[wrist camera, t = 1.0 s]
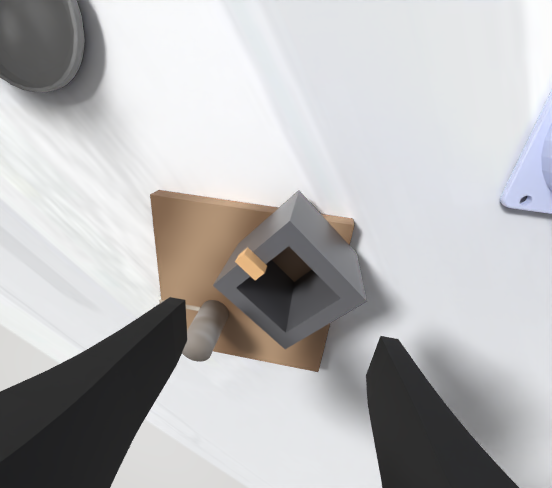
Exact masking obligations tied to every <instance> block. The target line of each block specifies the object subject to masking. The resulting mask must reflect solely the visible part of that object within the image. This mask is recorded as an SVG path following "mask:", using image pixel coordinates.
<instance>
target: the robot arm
mask: <svg viewBox="0 0 552 488" xmlns="http://www.w3.org/2000/svg"><path fill="white" fill-rule="evenodd" d="M524 196H527V199H526V200H525V201H524V202H522V203H520V200H521V198H522V197H524ZM500 201H501V203H502V204H503V205H504V206H506V207H508V208H512V209H520V210H527V211H534V212H541V213H549V214H552V90H551V92H550V95H549V97H548V99H547V101H546V103H545V105H544V107H543V109H542V111H541V113H540V115H539V118H538V120H537V122H536V124H535V126H534V128H533V130H532V132H531V134H530V136H529V138H528V141H527V143H526V145H525V147H524V149H523V151H522V153H521V155H520V157H519V159H518V161H517V164H516V166H515V168H514V170H513V172H512V174H511V176H510V178H509V180H508V182H507V184H506V187H505V189H504V191H503V193H502V195H501V198H500ZM186 342H187V321H186V302H185V300H183V299H178V298H173V297H169V298H168V299H166V300H165V301H163V302H162V303H160V304H159V305H157V306H156V307H154V308H153V309H151V310H150V311H148V312H147V313H145V314H144V315H142V316H141V317H139V318H138V319H136V320H135V321H133V322H131V323H130V324H128V325H127V326H125V327H124V328H122V329H121V330H119V331H117V332H116V333H114V334H112V335H111V336H109V337H107V338H106V339H104V340H102V341H101V342H99V343H97V344H96V345H94V346H92V347H91V348H89V349H87V350H85V351H84V352H82V353H80V354H78V355H76V356H74V357H73V358H71V359H69V360H67V361H65V362H63V363H61V364H59V365H57V366H55V367H53V368H51V369H49V370H47V371H45V372H43V373H41V374H39V375H36V376H34V377H32V378H30V379H27V380H25V381H23V382H21V383H19V384H16V385H14V386H12V387H10V388H7V389H5V390H3V391H1V392H0V488H110V487H111V484H112V482H113V480H114V478H115V476H116V474H117V472H118V469H119V467H120V465H121V463H122V461H123V459H124V457H125V455H126V453H127V451H128V449H129V447H130V445H131V443H132V441H133V439H134V437H135V435H136V433H137V431H138V430H139V428H140V426H141V424H142V422H143V421H144V419H145V417H146V416H147V414H148V412H149V411H150V409H151V407H152V406H153V404H154V402H155V401H156V399H157V397H158V396H159V394H160V392H161V391H162V389H163V387H164V386H165V384H166V382H167V380H168V379H169V377H170V375H171V374H172V372H173V370H174V368H175V367H176V365H177V363H178V361H179V358H180V356H181V354H182V352H183V349H184V347H185V345H186ZM366 382H367V399H368V408H369V414H370V420H371V426H372V431H373V437H374V442H375V448H376V453H377V459H378V464H379V470H380V475H381V481H382V488H519V487H518V486H517V485H516V484H515V483H514V482H513V481H512V480H511V479H510V478H509V477H508V476H507V475H506V474H505V472H504V471H503V470H502V469H501V468H500V467H499V466H498V465H497V464H496V463H495V462H494V460H493V459H492V458H491V457H490V456H489V455H488V454H487V453H486V452H485V451H484V450H483V448H482V447H481V446H480V445H479V444H478V443H477V442H476V441H475V439H474V438H473V437H472V436H471V435H470V434H469V432H468V431H467V430H466V429H465V428H464V426H463V425H462V424H461V423H460V421H459V420H458V419H457V418H456V417H455V415H454V414H453V413H452V412H451V411H450V409H449V408H448V407H447V405H446V404H445V403H444V402H443V400H442V399H441V398H440V396H439V395H438V394H437V392H436V391H435V390H434V388H433V387H432V386H431V384H430V383H429V382H428V380H427V379H426V378H425V376H424V375H423V373H422V372H421V371H420V369H419V368H418V366H417V365H416V364H415V362H414V361H413V359H412V358H411V356H410V355H409V354H408V352H407V351H406V349H405V348H404V347H403V345H402V344H401V342H400V341H399V340H398V339H394V338H389V337H384V336H380V339H379V342H378V344H377V347H376V350H375V352H374V355H373V358H372V361H371V363H370V366H369V369H368V372H367V374H366Z"/></svg>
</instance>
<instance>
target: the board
mask: <svg viewBox="0 0 552 488" xmlns="http://www.w3.org/2000/svg"><path fill="white" fill-rule="evenodd" d="M150 198H151V207H152V217H153V226H154V235H155V245H156V254H157V263H158V273H159V282H160V291H161V300H159V301H160V303H162V302H163V301H165V300H166V299H168V298H169V297H173V298H178V299H183V300H185V302H186V321H187V342H186V345H185V347H184V349H183V352H182V353H183V355H185V356H186V357H187V358H189V359H191V360H194V361H205V360H207V359H209V357H210V356H211V354H212V351H214V352H220V353H225V354H230V355H235V356H240V357H245V358H250V359H255V360H260V361H265V362H270V363H275V364H280V365H285V366H290V367H295V368H300V369H305V370H310V371H315V372H318V371H319V367H320V363H321V359H322V355H323V351H324V347H325V343H326V339H327V335H328V331H329V326H330V323H329V324H328V325H326V326H324V327H322V328H321V329H319V330H317V331H316V332H314V333H312V334H311V335H309V336H307V337H306V338H304V339H302V340H300V341H299V342H297V343H295V344H294V345H292V346H290V347H289V348H287V349H284V348H283V347H282V346H280V345H279V344H278V343H277V342H276V341H275V340H274V339H273V338H271V337H270V336H269V335H268V334H267V333H266V332H265V331H264V330H262V329H261V328H260V327H259V326H258V325H257V324H256V323H255V322H253V321H252V320H251V319H250V318H249V317H248V316H247V315H246V314H244V313H243V312H242V311H241V310H240V309H239V308H238V307H237V306H235V305H234V304H233V303H232V302H231V301H230V300H229V299H227V298H226V297H225V296H224V295H223V294H222V293H221V292H220V291H218V290H217V289H216V288H215V287H214V286H213V284H214V283H215V281H216V279H217V278H218V276H219V274H220V273H221V271H222V270H223V268H224V266H225V265H226V263H227V261H228V260H229V258H230V256H231V255H232V253H233V252H234V250H235V248H236V247H237V245H238V244H239V243H240V242H241V241H242V240H243V239H244V238H245V237H246V236H248V235H249V234H250V233H251V232H252V231H253V230H254V229H256V228H257V227H258V226H259V225H260V224H261V223H262V222H263V221H265V220H266V219H267V218H268V217H269V216H270V215H271V214H273V213H274V212H275V211H276V210H277V209H278V208H277V207H270V206H264V205H257V204H250V203H243V202H237V201H230V200H223V199H216V198H209V197H203V196H196V195H189V194H182V193H176V192H169V191H162V190H158V191H156V192H154V193H152V194H150ZM321 215H322V216H323V217H324V218H325V219H326V220H327V221H328V222H329V223H330V225H331V226H332V227H333V228H334V229H335V230H336V231H337V232H338V233H339V234H340V235H341V236H342V238H343V239H344V240H345V241H346V242H347V243H348V244H349V245H350V241H351V237H352V233H353V229H354V222H353V219H352V218H345V217H338V216H331V215H325V214H321ZM272 261H273V262H274V263H275V264H276V265H277V266H279V267H280V268H281V269H282V270H283V271H284V272H285V273H286V274H287V275H288V276H289V277H290V278H291V279H292V280H293V281H294V282H295V281H296V280H298V279H299V278H301V277H302V276H303V275H305V274H306V273H308V272H309V271H311V270H312V269H311V268H310V267H309V266H308V265H307V264H306V263H305V262H304V261H303V260H302V259H301V258H300V257H299V256H298V255H297V254H296V253H295V252H294V251H293V250H292V249H291V248H290V247H289V246H288V247H287V248H286V249H284V250H283V251H282V252H281V253H279V254H278V255H277V256H276V257H274V258H273V259H272Z"/></svg>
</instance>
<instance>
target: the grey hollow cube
mask: <svg viewBox="0 0 552 488" xmlns="http://www.w3.org/2000/svg"><path fill="white" fill-rule="evenodd" d="M288 246H289V247H290V248H291V249H292V250H293V251H294V252H295V253H296V254H297V255H298V256H299V257H300V258H301V259H302V260H303V261H304V262H305V263H306V264H307V265H308V266H309V267H310V268H311V269H312V270H311V271H309V272H308V273H306V274H305V275H303V276H302V277H301V278H299V279H298V280H296V281H295V282H294V281H293V280H292V279H291V278H290V277H289V276H288V275H287V274H286V273H285V272H284V271H283V270H282V269H281V268H280V267H279V266H277V265H276V264H275V263H274V262H273V261H272V259H273V258H274V257H276V256H277V255H278V254H279V253H281V252H282V251H283V250H284V249H286V248H287V247H288ZM213 286H214V287H215V288H216V289H217V290H218V291H220V292H221V293H222V294H223V295H224V296H225V297H226V298H227V299H229V300H230V301H231V302H232V303H233V304H234V305H235V306H237V307H238V308H239V309H240V310H241V311H242V312H243V313H244V314H246V315H247V316H248V317H249V318H250V319H251V320H252V321H253V322H255V323H256V324H257V325H258V326H259V327H260V328H261V329H262V330H264V331H265V332H266V333H267V334H268V335H269V336H270V337H271V338H273V339H274V340H275V341H276V342H277V343H278V344H279V345H280V346H282V347H283V348H284V349H287V348H289V347H290V346H292V345H294V344H295V343H297V342H299V341H300V340H302V339H304V338H306V337H307V336H309V335H311V334H312V333H314V332H316V331H317V330H319V329H321V328H322V327H324V326H326V325H328V324H329V323H331V322H333V321H334V320H336V319H338V318H339V317H341V316H343V315H345V314H346V313H348V312H350V311H351V310H353V309H355V308H356V307H358V306H360V305H362V304H363V303H365V302H367V299H366V294H365V289H364V284H363V280H362V275H361V270H360V266H359V261H358V256H357V253H356V252H355V251H354V250H353V248H352V247H351V246H350V245H349V244H348V243H347V242H346V241H345V240H344V239H343V238H342V236H341V235H340V234H339V233H338V232H337V231H336V230H335V229H334V228H333V227H332V226H331V225H330V223H329V222H328V221H327V220H326V219H325V218H324V217H323V216H322V215H321V214H320V213H319V211H318V210H317V209H316V208H315V207H314V206H313V205H312V204H311V203H310V202H309V201H308V200H307V198H306V197H305V196H304V195H303V194H302V193H301V192H300V191H297V192H296V193H295V194H294V195H293V196H292V197H291V198H289V199H288V200H287V201H286V202H285V203H284V204H283V205H282V206H280V207H279V208H278V209H277V210H276V211H275V212H274V213H273V214H271V215H270V216H269V217H268V218H267V219H266V220H265V221H263V222H262V223H261V224H260V225H259V226H258V227H257V228H256V229H254V230H253V231H252V232H251V233H250V234H249V235H248V236H246V237H245V238H244V239H243V240H242V241H241V242H240V243H239V244H238V245H237V247H236V248H235V250H234V252H233V253H232V255H231V256H230V258H229V260H228V261H227V263H226V265H225V266H224V268H223V270H222V271H221V273H220V274H219V276H218V278H217V279H216V281H215V283H214V284H213Z"/></svg>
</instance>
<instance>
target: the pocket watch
mask: <svg viewBox="0 0 552 488" xmlns="http://www.w3.org/2000/svg"><path fill="white" fill-rule="evenodd" d="M84 44H85V38H84V30H83V22H82V15H81V12H80V9H79V5H78V2H77V0H0V78H2V79H4V80H5V81H7V82H8V83H10V84H11V85H14V86H16V87H18V88H21V89H23V90H28V91H33V92H44V93H47V92H50V91H53V90H58V89H60V88H62V87H64V86H66V85H67V84H68V83H69V82H70V81H71V80H72V79H73V78H74V77H75V75H76V73H77V71H78V70H79V68H80V65H81V61H82V58H83V52H84Z"/></svg>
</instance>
